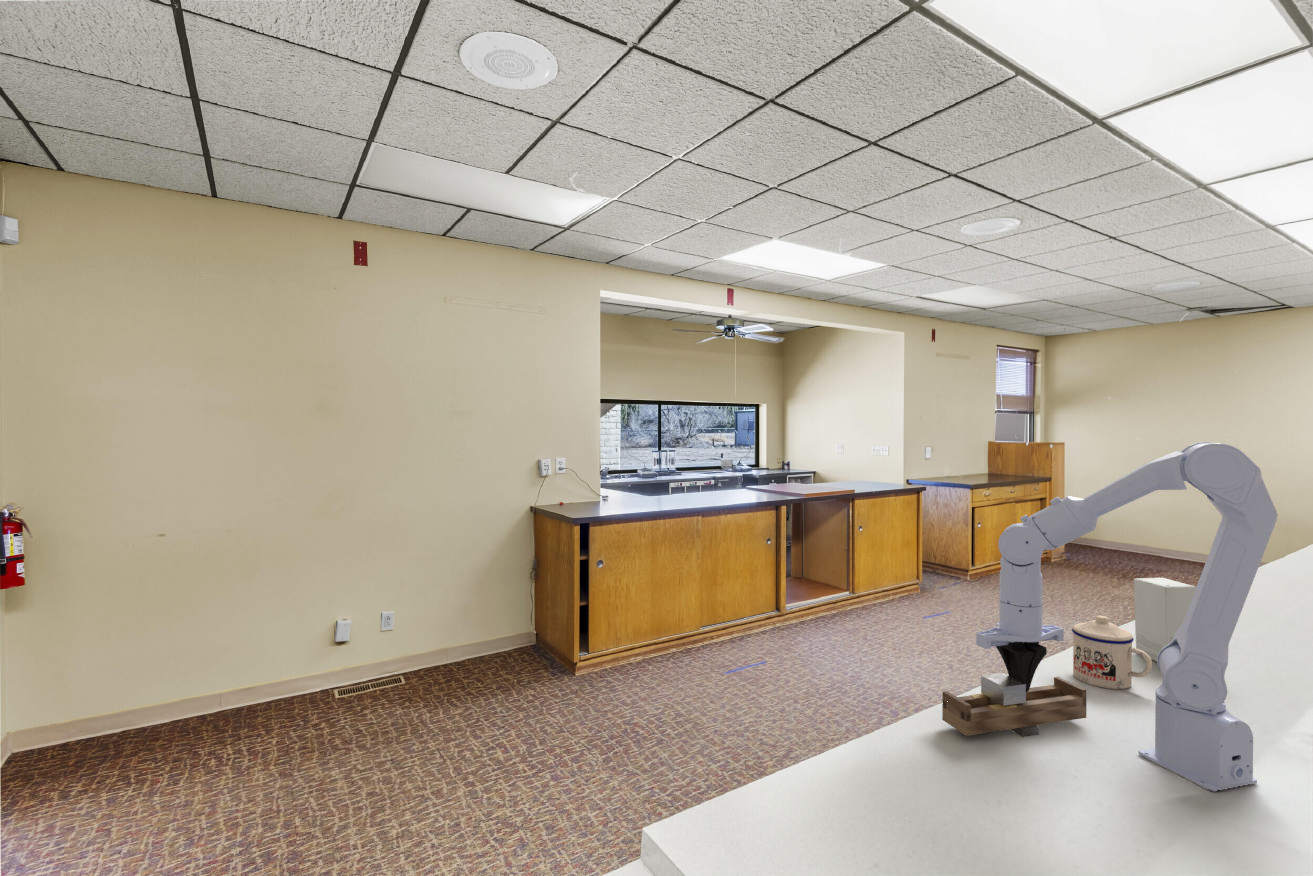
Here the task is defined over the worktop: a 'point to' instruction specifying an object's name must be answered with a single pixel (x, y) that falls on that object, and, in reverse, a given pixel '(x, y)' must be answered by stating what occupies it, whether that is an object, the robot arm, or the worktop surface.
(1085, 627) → the teacup with lid
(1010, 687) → the block
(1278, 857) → the worktop surface
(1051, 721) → the beam
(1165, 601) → the skincare box
